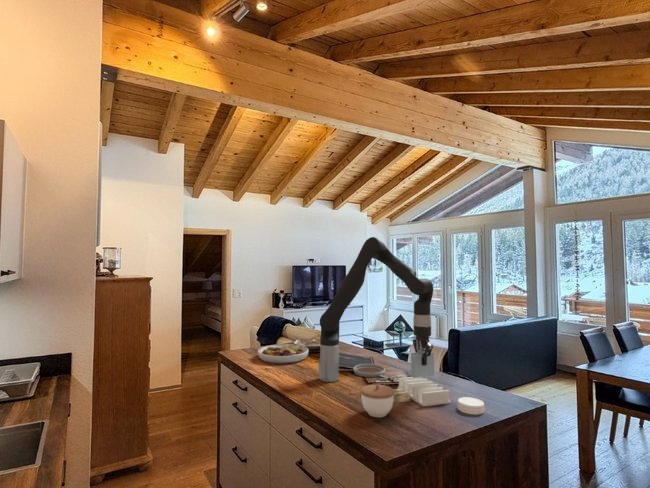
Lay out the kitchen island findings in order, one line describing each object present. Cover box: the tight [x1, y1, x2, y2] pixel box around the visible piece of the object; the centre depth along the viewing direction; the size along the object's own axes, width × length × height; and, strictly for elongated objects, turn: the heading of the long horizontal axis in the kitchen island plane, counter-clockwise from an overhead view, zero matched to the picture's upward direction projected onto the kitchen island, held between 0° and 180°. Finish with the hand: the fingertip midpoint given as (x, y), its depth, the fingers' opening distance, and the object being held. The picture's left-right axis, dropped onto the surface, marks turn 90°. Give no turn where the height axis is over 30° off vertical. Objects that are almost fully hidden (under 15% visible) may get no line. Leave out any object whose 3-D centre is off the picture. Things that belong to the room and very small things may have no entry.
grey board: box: [410, 351, 435, 378], centre depth 169 cm, size 10×2×10 cm, turn 107°
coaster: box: [456, 396, 485, 416], centre depth 153 cm, size 10×10×4 cm
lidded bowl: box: [360, 383, 395, 418], centre depth 149 cm, size 13×13×11 cm
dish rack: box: [397, 376, 452, 407], centre depth 168 cm, size 13×22×5 cm, turn 17°
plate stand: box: [393, 388, 412, 404], centre depth 164 cm, size 12×8×3 cm, turn 107°
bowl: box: [257, 343, 309, 365], centre depth 231 cm, size 30×30×8 cm
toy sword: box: [352, 363, 397, 383], centre depth 197 cm, size 17×3×28 cm
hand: (422, 364), depth 169 cm, fingers closed on grey board, 2 cm apart
